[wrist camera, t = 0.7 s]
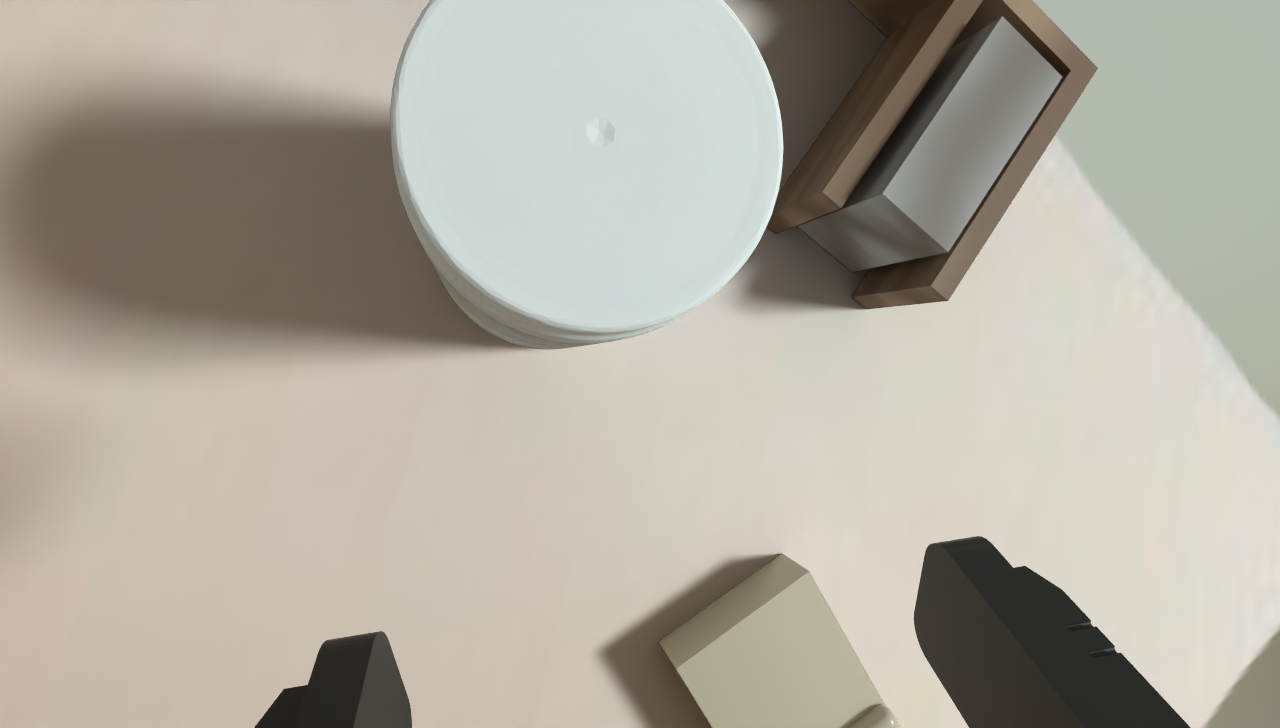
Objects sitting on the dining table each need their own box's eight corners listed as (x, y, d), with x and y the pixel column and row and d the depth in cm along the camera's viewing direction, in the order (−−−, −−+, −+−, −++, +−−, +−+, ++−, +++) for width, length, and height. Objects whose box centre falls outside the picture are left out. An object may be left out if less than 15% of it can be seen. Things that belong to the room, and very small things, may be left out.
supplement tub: (678, 304, 31) (848, 266, 17) (482, 382, 29) (488, 414, 15) (601, 100, 30) (713, -123, 16) (393, 167, 28) (307, -20, 14)
